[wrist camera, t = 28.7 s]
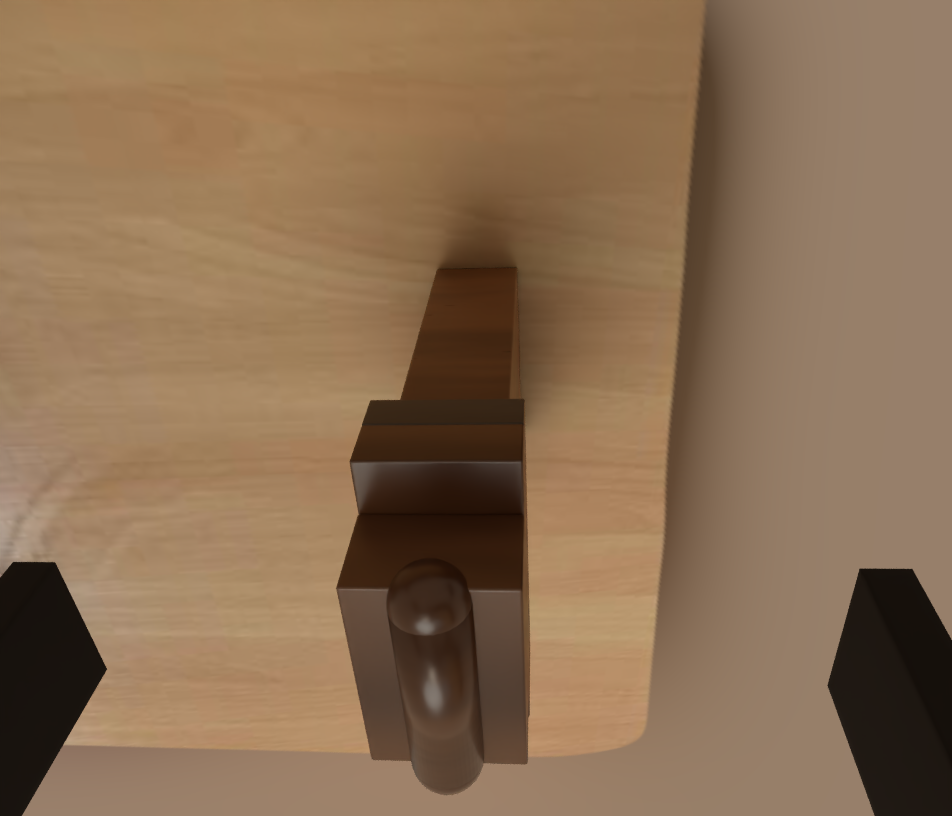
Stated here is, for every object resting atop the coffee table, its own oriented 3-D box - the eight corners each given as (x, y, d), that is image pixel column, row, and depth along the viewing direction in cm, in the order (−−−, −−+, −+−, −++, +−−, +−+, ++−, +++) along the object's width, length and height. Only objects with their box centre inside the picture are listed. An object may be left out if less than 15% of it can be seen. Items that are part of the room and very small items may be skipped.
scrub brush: (370, 399, 26) (312, 565, 19) (524, 398, 26) (520, 567, 19) (405, 642, 32) (372, 829, 26) (530, 644, 32) (528, 836, 25)
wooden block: (436, 268, 38) (392, 425, 27) (517, 266, 38) (508, 424, 26) (450, 435, 44) (419, 627, 32) (521, 434, 43) (516, 628, 32)
